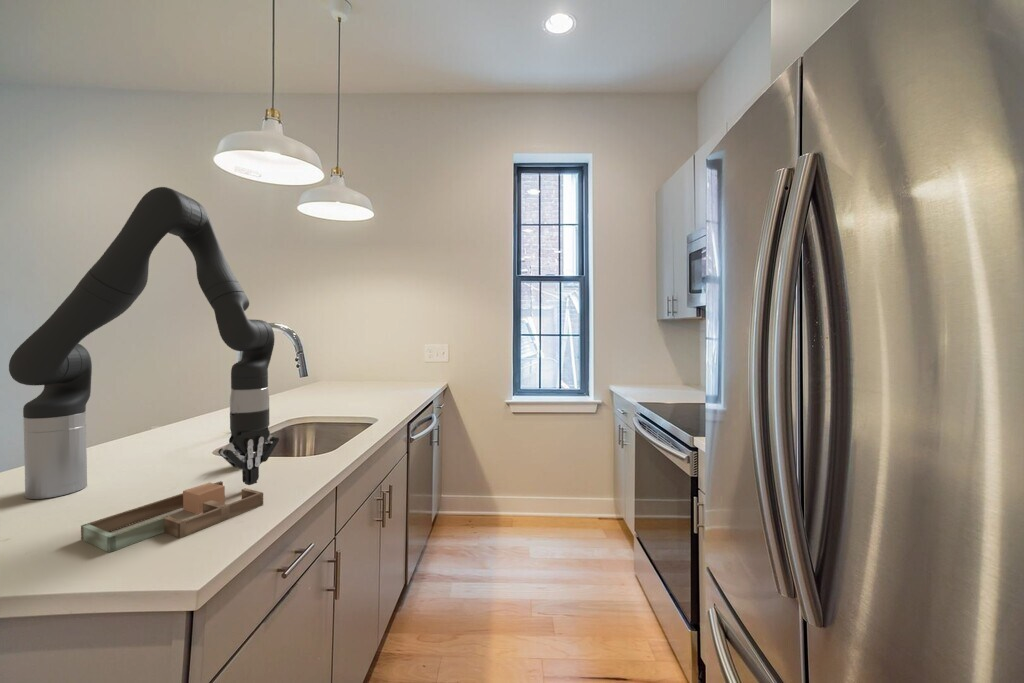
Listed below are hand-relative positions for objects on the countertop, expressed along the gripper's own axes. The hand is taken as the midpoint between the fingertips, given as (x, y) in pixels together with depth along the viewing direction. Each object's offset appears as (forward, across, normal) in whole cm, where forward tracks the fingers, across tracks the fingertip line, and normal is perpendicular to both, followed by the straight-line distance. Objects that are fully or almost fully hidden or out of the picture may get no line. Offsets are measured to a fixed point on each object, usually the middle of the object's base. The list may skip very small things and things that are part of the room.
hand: (250, 483), depth 93 cm
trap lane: (+1, +15, +3) cm, 15 cm away
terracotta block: (+2, +10, 0) cm, 10 cm away
